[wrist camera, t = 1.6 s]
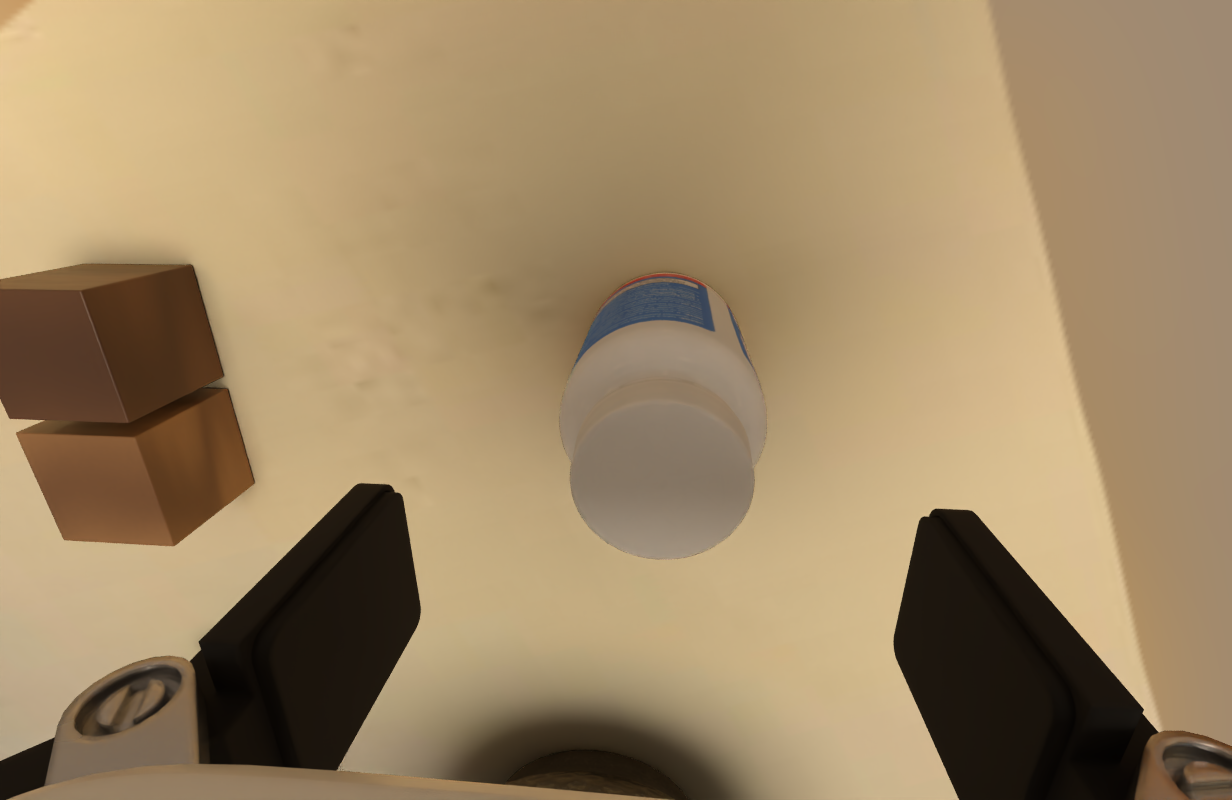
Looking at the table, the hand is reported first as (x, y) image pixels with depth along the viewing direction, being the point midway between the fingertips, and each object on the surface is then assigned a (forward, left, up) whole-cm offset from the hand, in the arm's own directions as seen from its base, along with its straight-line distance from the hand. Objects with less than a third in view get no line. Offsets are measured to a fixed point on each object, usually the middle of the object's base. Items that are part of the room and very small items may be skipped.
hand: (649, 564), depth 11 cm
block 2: (+4, -20, -12) cm, 24 cm away
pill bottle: (0, 0, -12) cm, 12 cm away
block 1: (-1, -20, -12) cm, 23 cm away
